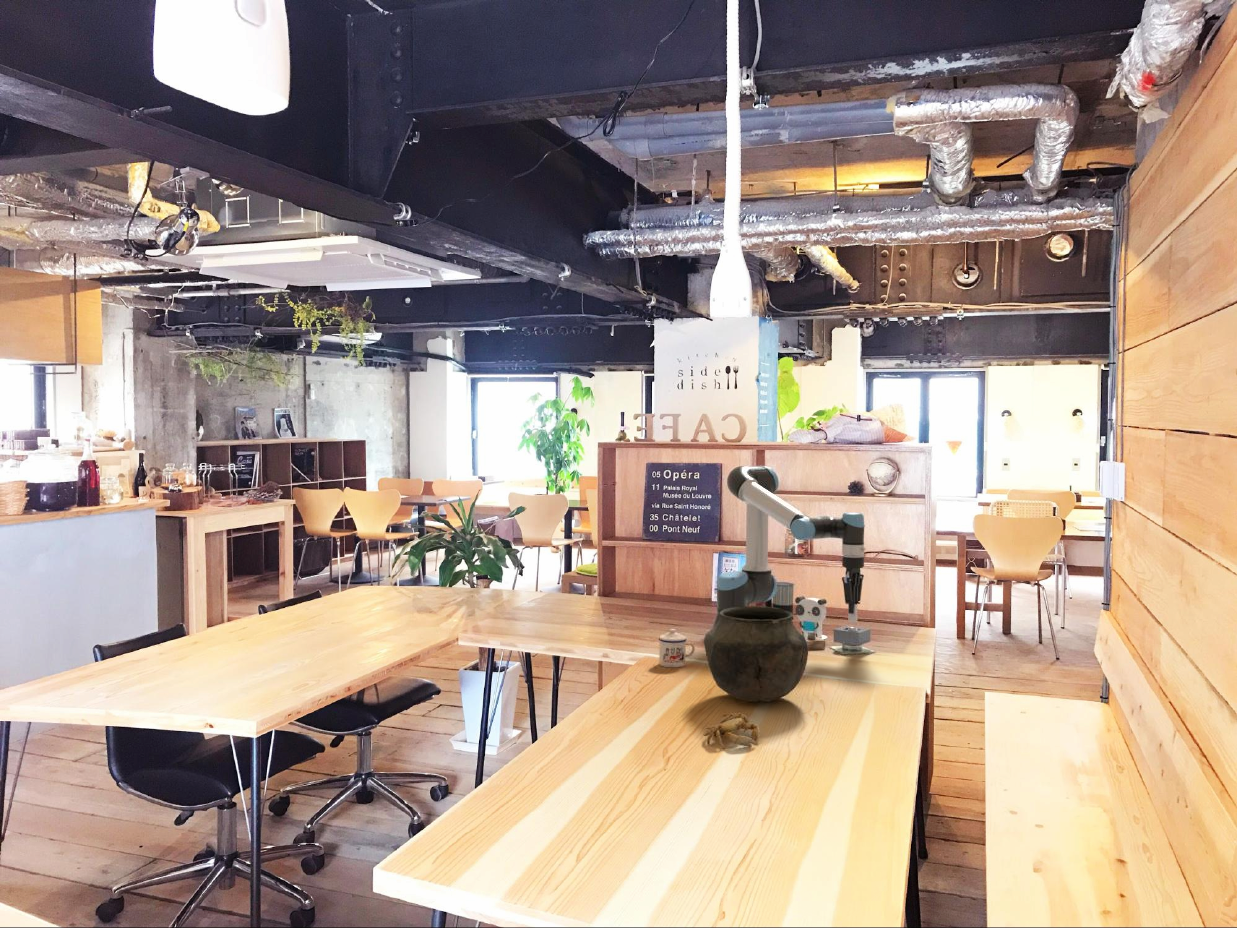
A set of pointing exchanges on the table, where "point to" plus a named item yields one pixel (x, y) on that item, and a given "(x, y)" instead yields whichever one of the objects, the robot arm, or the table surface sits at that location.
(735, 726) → the crab model
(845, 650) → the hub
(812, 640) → the stand
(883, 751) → the table surface
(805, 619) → the panda figurine
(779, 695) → the pot
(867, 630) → the grey square block
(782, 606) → the milk frother
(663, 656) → the teacup with lid
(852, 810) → the table surface
